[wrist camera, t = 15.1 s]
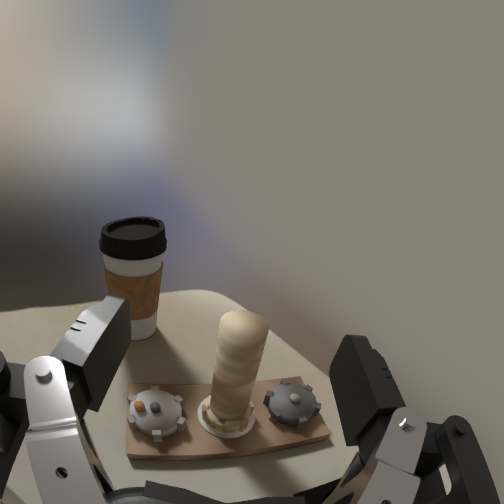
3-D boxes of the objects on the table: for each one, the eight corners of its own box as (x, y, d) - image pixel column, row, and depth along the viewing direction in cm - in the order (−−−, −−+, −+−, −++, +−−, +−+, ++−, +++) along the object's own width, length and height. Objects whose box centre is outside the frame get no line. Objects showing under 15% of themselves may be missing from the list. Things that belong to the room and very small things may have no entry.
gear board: (128, 458, 19) (122, 443, 17) (130, 389, 27) (126, 370, 25) (326, 439, 24) (337, 423, 23) (297, 382, 32) (304, 364, 31)
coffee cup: (176, 333, 37) (181, 230, 32) (123, 354, 31) (113, 242, 26) (146, 304, 42) (147, 211, 37) (98, 319, 36) (90, 219, 30)
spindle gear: (205, 435, 22) (215, 346, 18) (199, 398, 26) (206, 306, 22) (256, 430, 24) (286, 342, 19) (245, 396, 28) (267, 306, 23)
